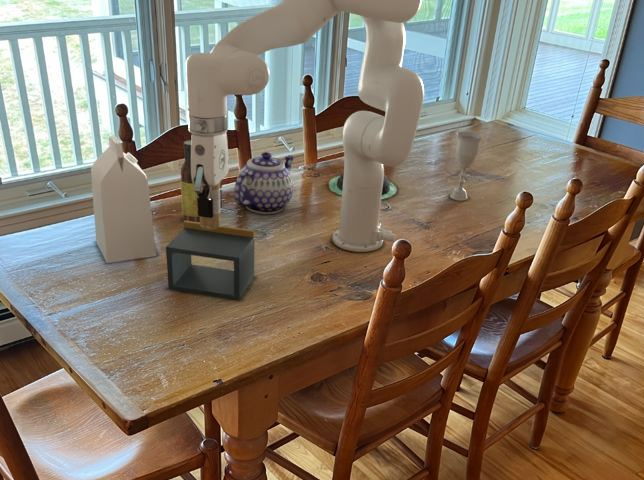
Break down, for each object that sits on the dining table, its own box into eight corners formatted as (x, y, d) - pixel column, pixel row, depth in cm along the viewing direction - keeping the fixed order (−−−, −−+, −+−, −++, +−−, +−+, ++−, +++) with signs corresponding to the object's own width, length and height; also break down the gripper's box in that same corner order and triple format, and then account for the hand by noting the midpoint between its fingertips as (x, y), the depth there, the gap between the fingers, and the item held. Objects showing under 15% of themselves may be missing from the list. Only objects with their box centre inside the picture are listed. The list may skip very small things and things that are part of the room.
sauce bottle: (202, 225, 185) (199, 148, 173) (178, 222, 185) (174, 145, 174) (210, 215, 190) (207, 140, 179) (187, 212, 191) (183, 137, 180)
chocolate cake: (394, 201, 202) (323, 196, 204) (395, 210, 220) (330, 205, 222) (400, 146, 200) (328, 142, 203) (400, 160, 219) (334, 155, 221)
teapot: (256, 228, 184) (257, 171, 176) (212, 212, 192) (210, 156, 183) (314, 201, 201) (317, 148, 193) (272, 187, 209) (273, 135, 200)
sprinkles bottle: (195, 225, 151) (192, 162, 144) (210, 219, 154) (209, 157, 147) (210, 232, 149) (208, 168, 141) (226, 226, 152) (225, 163, 144)
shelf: (254, 277, 162) (254, 230, 156) (239, 300, 153) (239, 251, 147) (186, 267, 165) (184, 220, 158) (168, 289, 156) (165, 240, 149)
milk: (96, 242, 174) (82, 133, 159) (143, 235, 178) (134, 129, 163) (107, 263, 165) (93, 150, 150) (156, 255, 169) (148, 145, 154)
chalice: (443, 198, 208) (453, 136, 198) (448, 191, 213) (459, 129, 203) (468, 203, 206) (480, 140, 195) (473, 195, 211) (485, 133, 201)
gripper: (211, 137, 132) (213, 230, 142) (239, 113, 146) (239, 199, 156) (173, 132, 133) (178, 225, 143) (204, 109, 147) (206, 195, 157)
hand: (210, 211), depth 150 cm, fingers closed on sprinkles bottle, 4 cm apart
